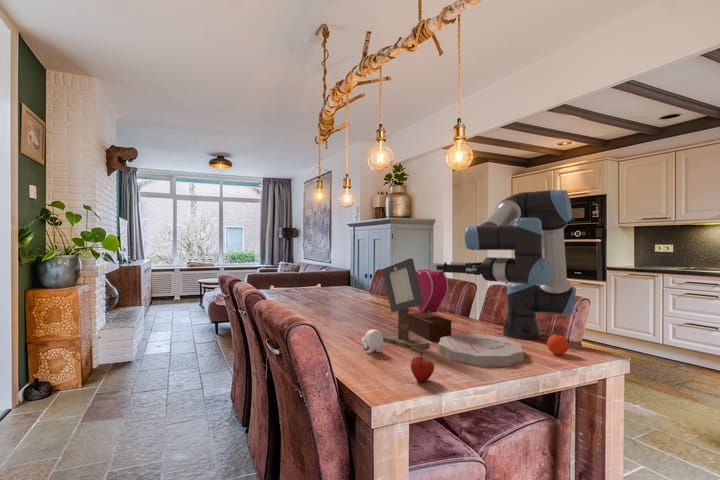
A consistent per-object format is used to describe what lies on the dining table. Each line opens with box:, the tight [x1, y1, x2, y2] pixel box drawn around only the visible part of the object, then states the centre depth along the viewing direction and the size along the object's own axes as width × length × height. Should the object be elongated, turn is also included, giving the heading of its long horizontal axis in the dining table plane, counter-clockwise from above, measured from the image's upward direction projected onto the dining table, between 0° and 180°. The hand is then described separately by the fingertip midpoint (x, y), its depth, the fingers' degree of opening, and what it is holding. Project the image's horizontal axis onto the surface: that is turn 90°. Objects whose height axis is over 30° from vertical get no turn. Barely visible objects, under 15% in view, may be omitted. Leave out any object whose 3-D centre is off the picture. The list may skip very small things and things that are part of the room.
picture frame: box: [382, 258, 424, 313], centre depth 150 cm, size 16×3×18 cm, turn 40°
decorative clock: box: [409, 268, 453, 342], centre depth 166 cm, size 25×10×30 cm, turn 17°
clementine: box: [546, 334, 569, 356], centre depth 138 cm, size 8×7×7 cm
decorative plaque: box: [437, 333, 524, 367], centre depth 139 cm, size 30×4×30 cm
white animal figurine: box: [360, 329, 384, 355], centre depth 142 cm, size 6×8×12 cm
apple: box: [408, 347, 435, 383], centre depth 111 cm, size 8×7×10 cm
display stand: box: [381, 308, 430, 351], centre depth 153 cm, size 22×8×32 cm, turn 40°
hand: (441, 266), depth 136 cm, fingers open, 10 cm apart
